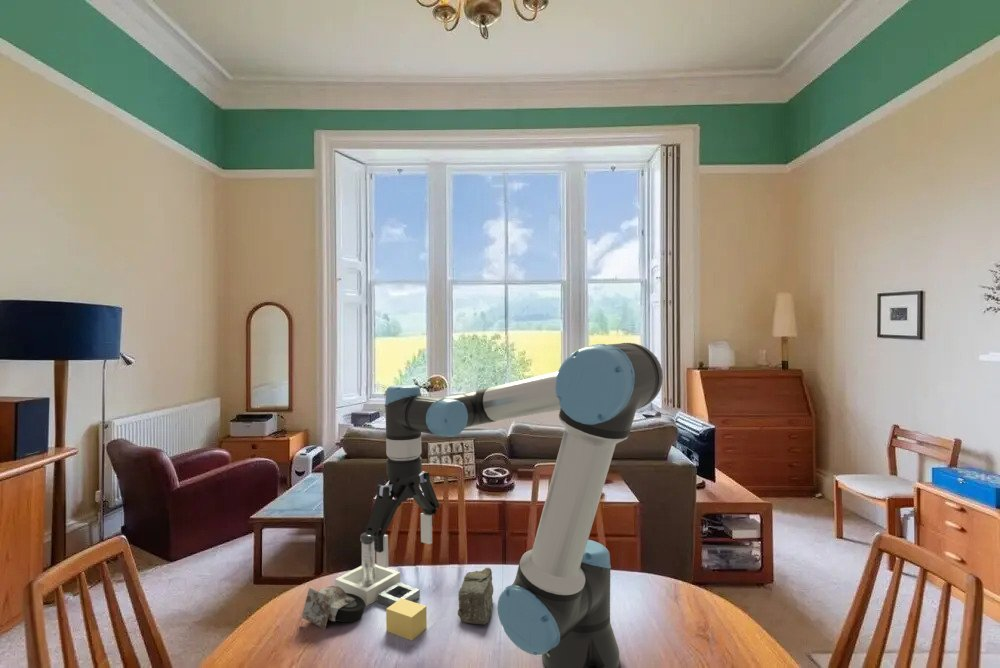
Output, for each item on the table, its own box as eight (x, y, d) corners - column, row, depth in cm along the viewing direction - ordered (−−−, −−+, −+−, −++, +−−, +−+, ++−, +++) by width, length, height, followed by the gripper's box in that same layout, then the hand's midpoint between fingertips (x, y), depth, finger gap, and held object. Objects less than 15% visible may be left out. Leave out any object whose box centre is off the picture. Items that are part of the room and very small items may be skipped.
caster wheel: (367, 622, 122) (340, 640, 113) (328, 602, 126) (299, 618, 117) (374, 593, 122) (348, 609, 113) (336, 575, 126) (307, 588, 117)
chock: (426, 628, 115) (426, 606, 115) (411, 640, 111) (411, 617, 110) (401, 620, 118) (401, 598, 118) (386, 631, 114) (386, 608, 114)
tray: (400, 586, 133) (400, 572, 133) (366, 606, 124) (366, 591, 124) (369, 574, 139) (369, 561, 139) (335, 593, 130) (335, 579, 130)
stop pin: (368, 592, 129) (367, 539, 129) (357, 588, 131) (357, 535, 131) (379, 586, 132) (379, 533, 132) (369, 582, 134) (368, 530, 134)
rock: (449, 574, 130) (488, 560, 132) (457, 600, 130) (495, 586, 132) (454, 608, 113) (499, 592, 115) (463, 638, 113) (507, 622, 115)
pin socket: (419, 597, 128) (419, 589, 128) (399, 611, 122) (399, 602, 122) (398, 589, 131) (398, 581, 131) (377, 602, 126) (377, 594, 126)
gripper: (429, 443, 127) (430, 531, 127) (346, 467, 106) (348, 572, 106) (453, 446, 122) (455, 537, 123) (372, 472, 102) (374, 581, 102)
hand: (405, 553), depth 114 cm, fingers open, 13 cm apart
